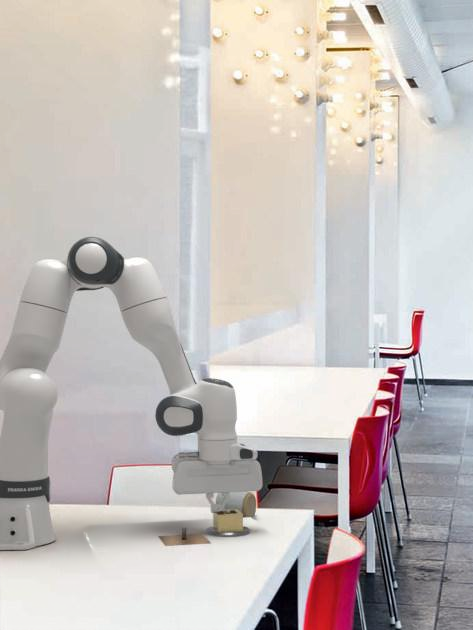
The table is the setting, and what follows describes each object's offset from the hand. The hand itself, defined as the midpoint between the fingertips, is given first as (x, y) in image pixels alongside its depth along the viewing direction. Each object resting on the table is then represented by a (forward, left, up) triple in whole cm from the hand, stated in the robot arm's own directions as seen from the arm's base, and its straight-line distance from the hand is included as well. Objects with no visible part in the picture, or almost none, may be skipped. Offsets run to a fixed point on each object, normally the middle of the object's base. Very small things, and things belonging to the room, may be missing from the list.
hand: (217, 512), depth 249 cm
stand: (-9, -5, -6) cm, 12 cm away
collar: (+2, 0, -4) cm, 5 cm away
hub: (+2, 0, -6) cm, 6 cm away
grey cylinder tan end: (+10, +21, -6) cm, 24 cm away
